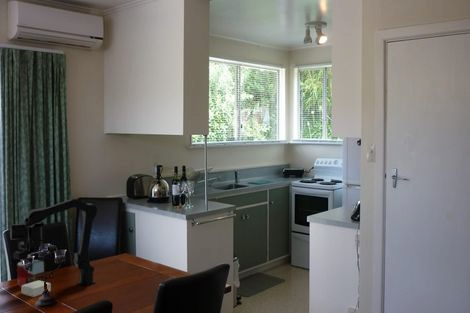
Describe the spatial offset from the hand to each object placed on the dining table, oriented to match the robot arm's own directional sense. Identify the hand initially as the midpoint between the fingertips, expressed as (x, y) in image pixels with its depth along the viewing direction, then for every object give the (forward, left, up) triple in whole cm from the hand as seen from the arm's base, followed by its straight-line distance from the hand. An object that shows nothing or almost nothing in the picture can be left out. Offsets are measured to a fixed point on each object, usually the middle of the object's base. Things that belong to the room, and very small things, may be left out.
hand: (35, 270), depth 214 cm
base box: (0, 0, -11) cm, 11 cm away
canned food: (+14, -3, -11) cm, 17 cm away
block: (0, 0, -1) cm, 1 cm away
